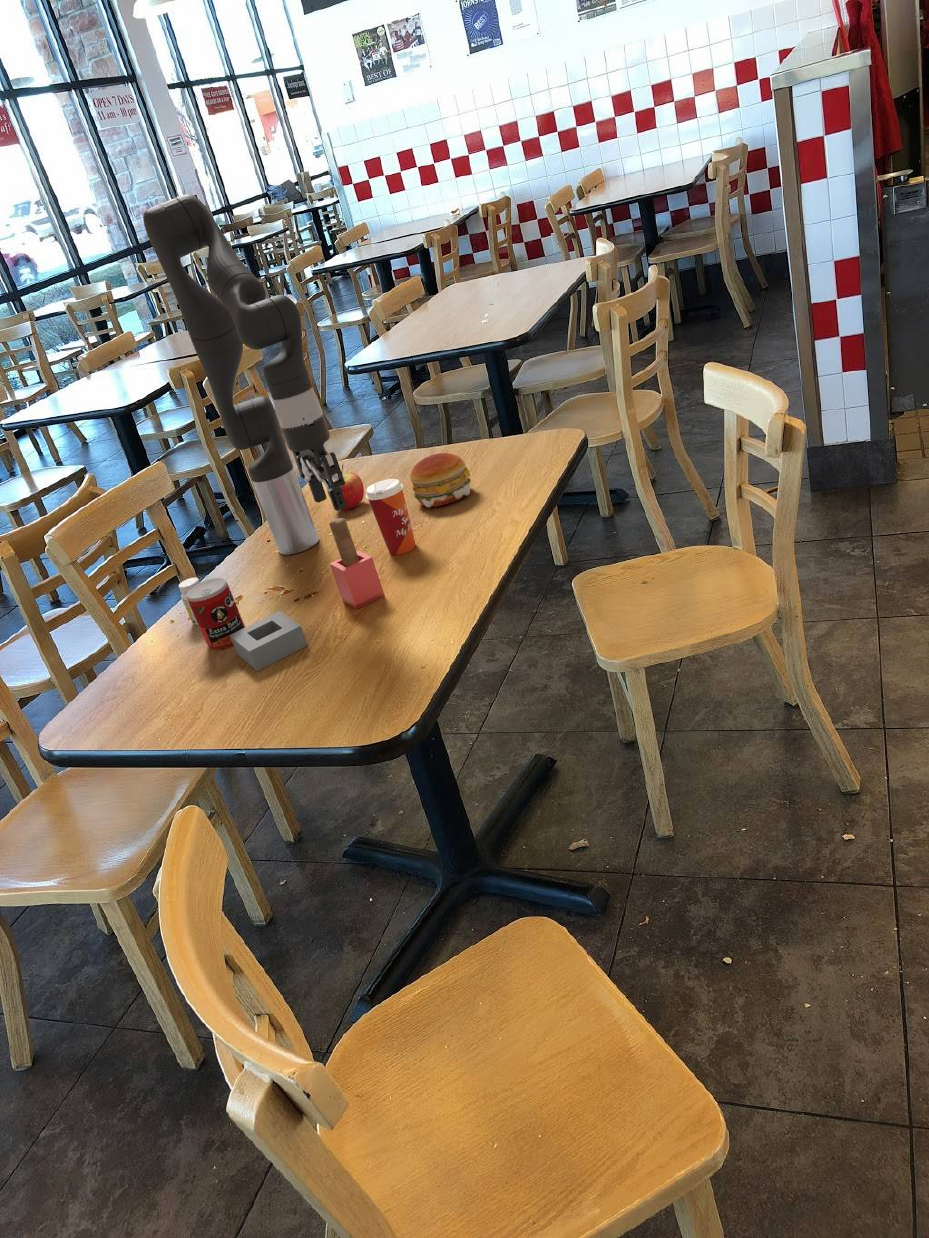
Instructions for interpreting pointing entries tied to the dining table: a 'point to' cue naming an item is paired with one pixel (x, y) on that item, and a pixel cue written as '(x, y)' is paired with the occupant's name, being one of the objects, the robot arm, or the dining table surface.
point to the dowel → (344, 542)
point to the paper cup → (392, 515)
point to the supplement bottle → (184, 588)
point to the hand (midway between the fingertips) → (331, 504)
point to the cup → (358, 581)
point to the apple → (352, 489)
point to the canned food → (215, 612)
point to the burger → (440, 479)
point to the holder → (268, 640)
